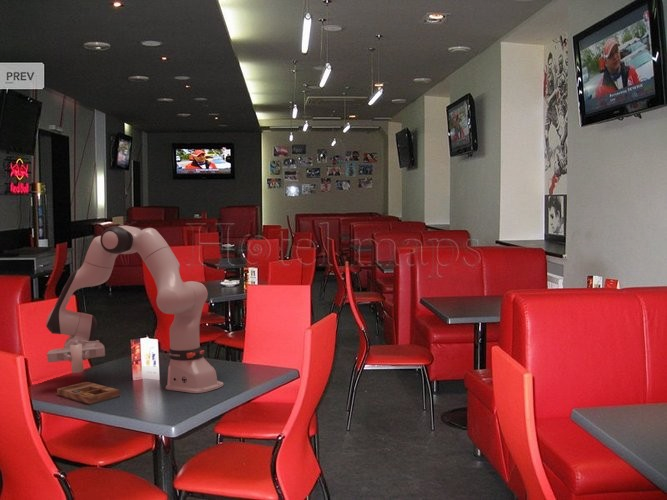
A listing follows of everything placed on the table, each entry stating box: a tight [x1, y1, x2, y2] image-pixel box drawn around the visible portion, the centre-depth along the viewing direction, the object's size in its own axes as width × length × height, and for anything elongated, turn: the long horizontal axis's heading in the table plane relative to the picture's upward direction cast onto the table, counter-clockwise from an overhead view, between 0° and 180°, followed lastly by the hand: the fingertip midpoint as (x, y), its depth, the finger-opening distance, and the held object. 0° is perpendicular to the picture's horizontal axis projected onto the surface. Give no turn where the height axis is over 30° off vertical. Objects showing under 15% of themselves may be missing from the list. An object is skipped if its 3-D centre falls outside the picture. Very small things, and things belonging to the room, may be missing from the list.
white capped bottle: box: [70, 340, 84, 374], centre depth 245 cm, size 4×4×12 cm
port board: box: [56, 381, 121, 406], centre depth 242 cm, size 21×12×3 cm, turn 52°
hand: (76, 357), depth 244 cm, fingers closed on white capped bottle, 4 cm apart
